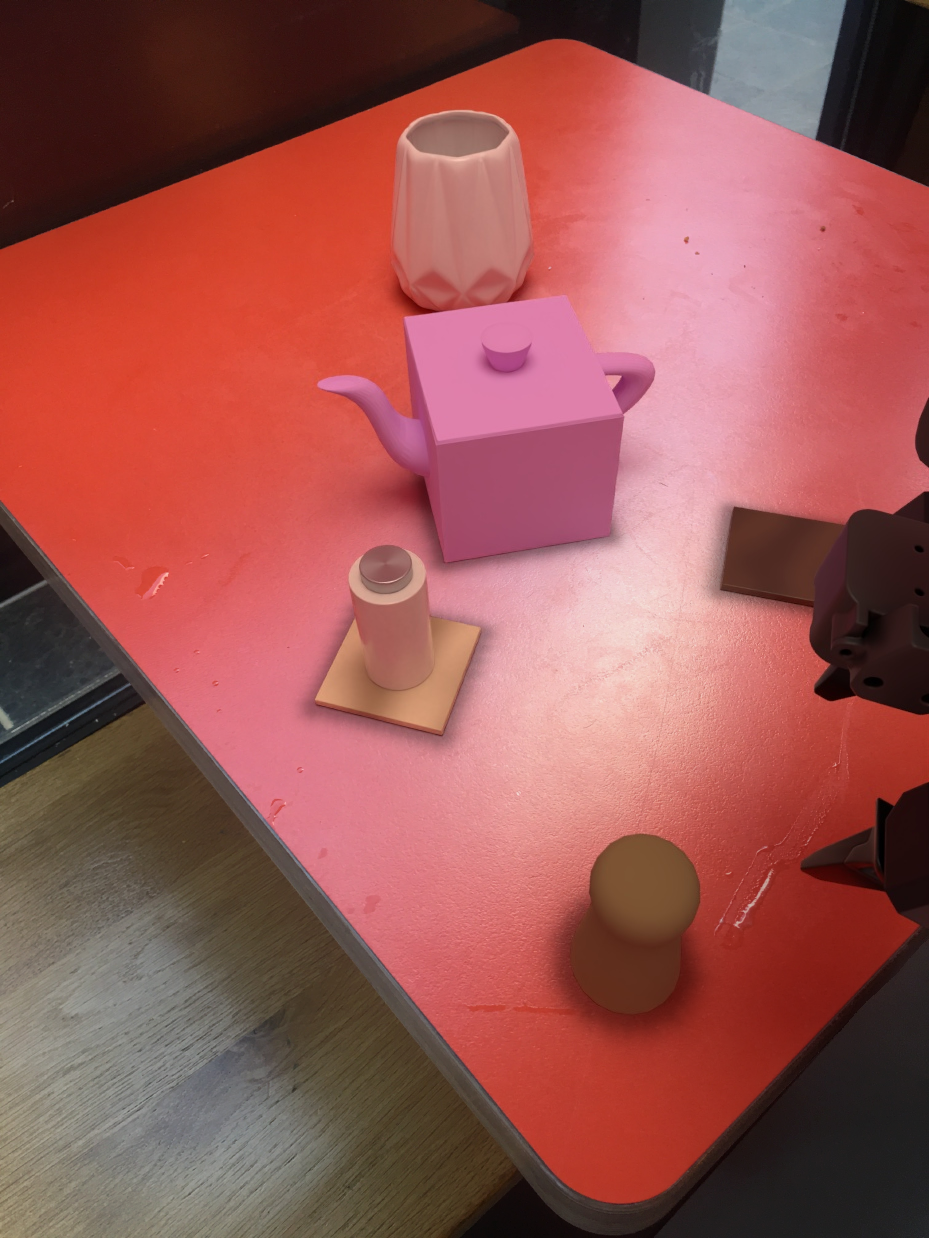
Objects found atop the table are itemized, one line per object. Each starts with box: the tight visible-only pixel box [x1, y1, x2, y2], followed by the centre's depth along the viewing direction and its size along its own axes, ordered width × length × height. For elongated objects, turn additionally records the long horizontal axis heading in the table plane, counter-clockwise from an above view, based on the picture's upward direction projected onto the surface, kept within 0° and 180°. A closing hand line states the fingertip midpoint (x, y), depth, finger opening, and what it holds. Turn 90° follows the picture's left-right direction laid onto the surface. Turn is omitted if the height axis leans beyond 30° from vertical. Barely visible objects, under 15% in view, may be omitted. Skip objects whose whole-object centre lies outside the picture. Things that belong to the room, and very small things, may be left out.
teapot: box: [316, 294, 656, 564], centre depth 70 cm, size 15×25×14 cm, turn 101°
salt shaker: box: [347, 544, 435, 690], centre depth 60 cm, size 5×5×10 cm
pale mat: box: [314, 615, 482, 736], centre depth 64 cm, size 9×9×1 cm
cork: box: [569, 832, 701, 1016], centre depth 47 cm, size 6×6×11 cm
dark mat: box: [720, 506, 845, 607], centre depth 69 cm, size 8×8×1 cm
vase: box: [390, 109, 535, 312], centre depth 89 cm, size 14×14×15 cm
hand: (815, 776), depth 41 cm, fingers open, 9 cm apart
